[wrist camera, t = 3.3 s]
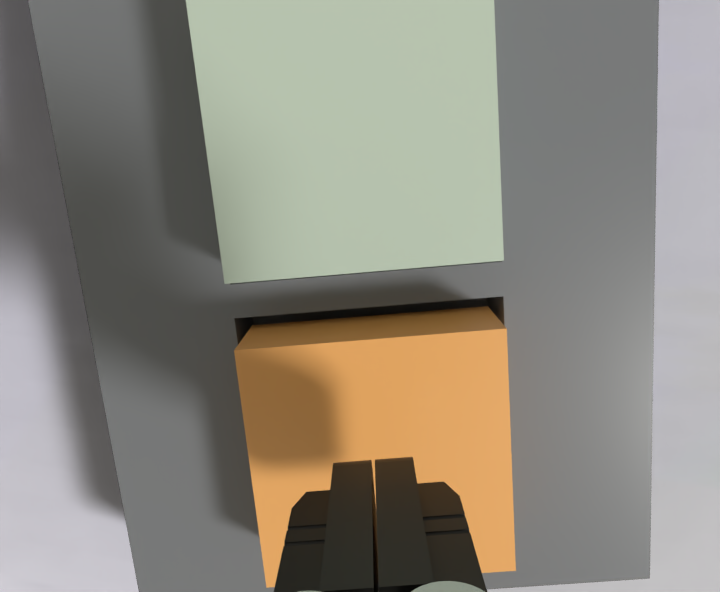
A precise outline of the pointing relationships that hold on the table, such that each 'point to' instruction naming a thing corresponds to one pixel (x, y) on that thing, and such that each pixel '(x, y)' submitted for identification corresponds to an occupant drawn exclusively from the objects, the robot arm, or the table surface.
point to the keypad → (369, 285)
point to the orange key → (381, 414)
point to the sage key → (349, 134)
